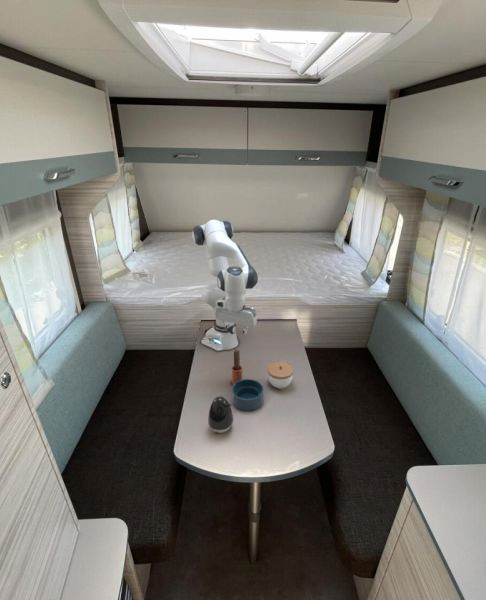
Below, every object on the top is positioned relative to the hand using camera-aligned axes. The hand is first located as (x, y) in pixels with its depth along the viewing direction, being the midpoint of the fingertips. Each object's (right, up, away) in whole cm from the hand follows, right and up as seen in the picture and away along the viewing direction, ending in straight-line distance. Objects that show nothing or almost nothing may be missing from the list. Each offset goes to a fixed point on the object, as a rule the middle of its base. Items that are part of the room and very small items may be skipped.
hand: (235, 330), depth 149 cm
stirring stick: (0, -26, +11) cm, 29 cm away
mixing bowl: (+6, -32, 0) cm, 33 cm away
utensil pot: (0, -27, +12) cm, 29 cm away
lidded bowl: (+21, -28, +11) cm, 36 cm away
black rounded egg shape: (-5, -39, -15) cm, 42 cm away
